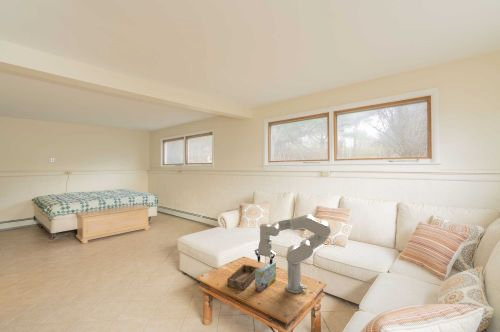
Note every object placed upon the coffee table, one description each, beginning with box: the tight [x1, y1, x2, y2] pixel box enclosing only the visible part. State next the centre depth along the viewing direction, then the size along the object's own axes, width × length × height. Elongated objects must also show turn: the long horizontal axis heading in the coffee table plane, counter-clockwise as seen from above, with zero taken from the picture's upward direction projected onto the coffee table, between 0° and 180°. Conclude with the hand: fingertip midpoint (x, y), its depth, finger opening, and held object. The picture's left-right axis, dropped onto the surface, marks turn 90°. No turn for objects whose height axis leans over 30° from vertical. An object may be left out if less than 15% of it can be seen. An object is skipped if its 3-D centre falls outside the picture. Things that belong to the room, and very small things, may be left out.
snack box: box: [254, 260, 277, 293], centre depth 178 cm, size 21×6×15 cm, turn 143°
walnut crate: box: [227, 264, 260, 292], centre depth 186 cm, size 14×27×6 cm, turn 154°
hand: (264, 262), depth 178 cm, fingers open, 9 cm apart
